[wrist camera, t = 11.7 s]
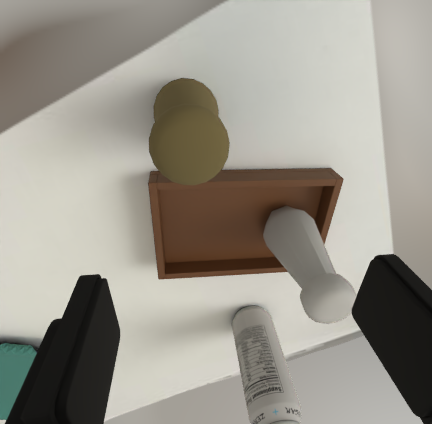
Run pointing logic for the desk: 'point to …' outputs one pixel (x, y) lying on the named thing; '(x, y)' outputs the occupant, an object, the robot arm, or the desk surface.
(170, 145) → the pepper shaker
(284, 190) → the tray
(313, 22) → the desk surface
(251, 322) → the energy drink can
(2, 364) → the cutlery set
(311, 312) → the salt shaker
